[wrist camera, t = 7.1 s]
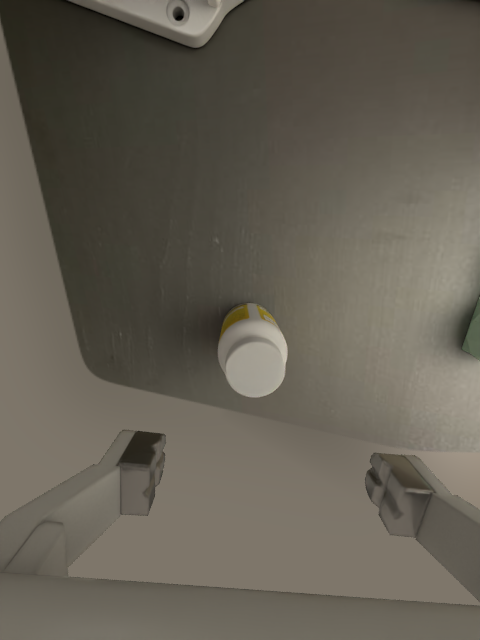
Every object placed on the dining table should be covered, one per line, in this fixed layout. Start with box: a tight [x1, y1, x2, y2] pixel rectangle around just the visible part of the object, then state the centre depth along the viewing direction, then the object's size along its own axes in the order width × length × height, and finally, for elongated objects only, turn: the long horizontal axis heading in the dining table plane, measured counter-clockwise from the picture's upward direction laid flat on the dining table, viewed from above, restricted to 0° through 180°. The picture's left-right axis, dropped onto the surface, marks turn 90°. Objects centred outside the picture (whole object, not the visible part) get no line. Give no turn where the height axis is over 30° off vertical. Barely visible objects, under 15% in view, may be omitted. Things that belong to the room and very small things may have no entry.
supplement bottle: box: [218, 303, 288, 397], centre depth 21 cm, size 5×5×10 cm
